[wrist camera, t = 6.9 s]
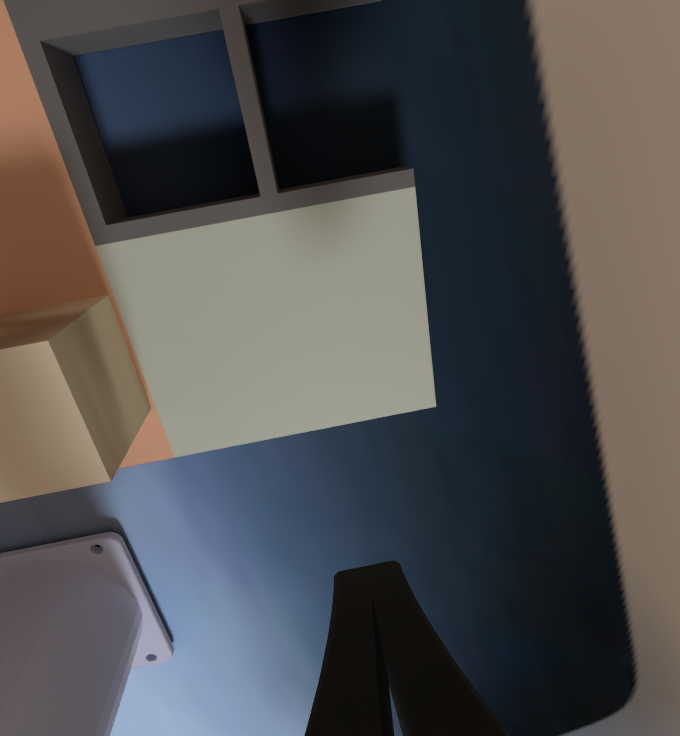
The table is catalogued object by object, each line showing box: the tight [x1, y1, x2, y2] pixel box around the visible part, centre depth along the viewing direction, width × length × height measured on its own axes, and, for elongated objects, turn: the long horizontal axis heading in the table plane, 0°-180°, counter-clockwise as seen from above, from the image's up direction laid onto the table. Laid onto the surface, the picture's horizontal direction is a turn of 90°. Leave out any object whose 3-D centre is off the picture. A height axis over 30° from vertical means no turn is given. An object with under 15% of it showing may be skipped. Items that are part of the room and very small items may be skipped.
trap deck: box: [0, 0, 436, 468], centre depth 15 cm, size 14×14×2 cm
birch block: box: [0, 295, 151, 503], centre depth 13 cm, size 4×4×4 cm
